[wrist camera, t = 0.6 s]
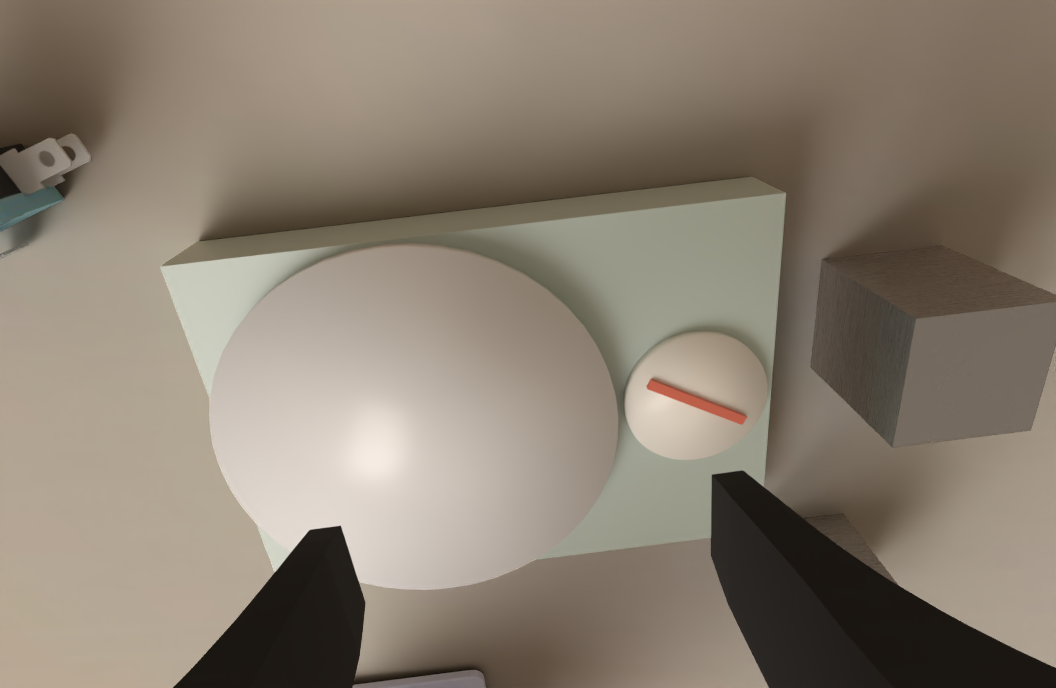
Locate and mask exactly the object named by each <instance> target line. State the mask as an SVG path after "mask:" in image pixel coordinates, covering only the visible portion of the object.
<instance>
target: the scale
mask: <svg viewBox="0 0 1056 688" xmlns="http://www.w3.org/2000/svg"><path fill="white" fill-rule="evenodd" d="M785 203H786V193H785V192H783V191H781V190H779V189H777V188H775V187H773V186H771V185H769V184H767V183H764V182H762V181H760V180H758V179H756V178H754V177H744V178H736V179H727V180H719V181H710V182H702V183H693V184H685V185H676V186H668V187H659V188H651V189H642V190H634V191H625V192H617V193H608V194H599V195H591V196H582V197H574V198H565V199H557V200H548V201H540V202H531V203H523V204H514V205H506V206H497V207H489V208H480V209H472V210H463V211H455V212H446V213H438V214H429V215H421V216H412V217H403V218H395V219H386V220H378V221H369V222H361V223H352V224H344V225H335V226H327V227H318V228H310V229H301V230H293V231H284V232H276V233H267V234H259V235H250V236H242V237H233V238H225V239H216V240H208V241H199V242H196V243H194V244H193V245H191V246H190V247H188V248H187V249H186V250H184V251H183V252H181V253H180V254H178V255H177V256H175V257H174V258H172V259H171V260H169V261H168V262H166V263H165V264H163V265H162V266H160V268H161V271H162V273H163V276H164V279H165V281H166V284H167V287H168V289H169V292H170V295H171V297H172V300H173V303H174V305H175V308H176V311H177V313H178V316H179V319H180V321H181V324H182V327H183V329H184V332H185V335H186V337H187V340H188V343H189V345H190V348H191V351H192V353H193V356H194V359H195V361H196V364H197V367H198V369H199V372H200V375H201V377H202V380H203V383H204V385H205V388H206V391H207V393H208V396H209V399H210V408H209V424H210V431H211V438H212V445H213V448H214V451H215V455H216V458H217V461H218V464H219V467H220V469H221V472H222V474H223V476H224V478H225V480H226V482H227V484H228V486H229V488H230V490H231V491H232V493H233V494H234V496H235V497H236V499H237V500H238V502H239V503H240V505H241V506H242V508H243V509H244V510H245V511H246V512H247V513H248V515H249V516H250V517H251V518H252V519H253V520H254V522H255V523H256V524H257V527H258V530H259V532H260V535H261V538H262V540H263V543H264V546H265V548H266V551H267V554H268V556H269V559H270V562H271V564H272V567H273V570H274V572H276V571H277V569H278V568H279V567H280V566H281V564H282V563H283V562H284V560H285V559H286V558H287V557H288V556H289V554H290V553H291V552H292V551H293V549H294V548H295V547H296V546H297V544H298V543H299V542H300V541H301V540H302V538H303V537H304V536H305V535H306V533H307V532H308V531H309V530H312V529H320V528H327V527H334V526H341V528H342V531H343V534H344V537H345V540H346V543H347V546H348V550H349V553H350V556H351V559H352V562H353V565H354V569H355V572H356V575H357V578H358V581H359V582H361V583H366V584H370V585H375V586H380V587H387V588H396V589H407V590H433V589H446V588H454V587H460V586H466V585H471V584H476V583H479V582H483V581H486V580H490V579H494V578H497V577H499V576H502V575H504V574H507V573H509V572H512V571H514V570H517V569H519V568H521V567H523V566H524V565H526V564H528V563H530V562H532V561H534V560H539V559H547V558H555V557H563V556H571V555H579V554H587V553H595V552H603V551H611V550H619V549H627V548H635V547H643V546H651V545H659V544H666V543H674V542H682V541H690V540H698V539H706V538H711V494H712V474H720V473H727V472H734V471H741V470H743V471H745V472H746V473H747V474H748V475H750V476H751V477H752V478H753V479H755V480H756V481H757V482H758V483H760V484H761V485H762V486H763V487H764V479H765V466H766V453H767V439H768V426H769V413H770V400H771V387H772V374H773V361H774V347H775V334H776V321H777V308H778V295H779V282H780V268H781V255H782V242H783V229H784V216H785Z"/></svg>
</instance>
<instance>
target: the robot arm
mask: <svg viewBox="0 0 1056 688" xmlns="http://www.w3.org/2000/svg"><path fill="white" fill-rule="evenodd" d="M711 557H712V560H713V562H714V565H715V568H716V571H717V574H718V577H719V580H720V583H721V586H722V588H723V591H724V594H725V597H726V599H727V602H728V605H729V607H730V609H731V611H732V613H733V615H734V617H735V619H736V621H737V623H738V626H739V628H740V630H741V632H742V634H743V636H744V638H745V640H746V642H747V644H748V646H749V648H750V650H751V652H752V654H753V656H754V658H755V660H756V662H757V664H758V666H759V668H760V670H761V672H762V674H763V676H764V678H765V680H766V682H767V684H768V686H769V688H1056V668H1055V667H1052V666H1050V665H1048V664H1046V663H1043V662H1041V661H1039V660H1037V659H1035V658H1033V657H1031V656H1028V655H1026V654H1024V653H1022V652H1020V651H1018V650H1016V649H1014V648H1012V647H1010V646H1008V645H1006V644H1004V643H1002V642H1000V641H998V640H996V639H994V638H992V637H990V636H988V635H986V634H984V633H982V632H980V631H978V630H976V629H974V628H972V627H970V626H968V625H966V624H964V623H963V622H961V621H959V620H957V619H955V618H953V617H952V616H950V615H948V614H946V613H944V612H942V611H941V610H939V609H937V608H936V607H934V606H932V605H930V604H929V603H927V602H925V601H924V600H922V599H920V598H919V597H917V596H915V595H913V594H912V593H910V592H908V591H907V590H905V589H903V588H902V587H900V586H898V585H897V584H895V583H894V582H892V581H890V580H889V579H887V578H886V577H884V576H883V575H881V574H880V573H878V572H877V571H875V570H874V569H872V568H871V567H869V566H868V565H866V564H865V563H863V562H862V561H860V560H859V559H857V558H856V557H854V556H853V555H851V554H850V553H849V552H847V551H846V550H844V549H843V548H842V547H840V546H839V545H837V544H836V543H835V542H833V541H832V540H831V539H829V538H828V537H827V536H825V535H824V534H823V533H821V532H820V531H819V530H817V529H816V528H815V527H813V526H812V525H811V524H809V523H808V522H807V521H806V520H804V519H803V518H802V517H800V516H799V515H798V514H797V513H795V512H794V511H793V510H792V509H790V508H789V507H788V506H787V505H785V504H784V503H783V502H782V501H780V500H779V499H778V498H777V497H775V496H774V495H773V494H772V493H771V492H769V491H768V490H767V489H766V488H764V487H763V486H762V485H761V484H760V483H758V482H757V481H756V480H755V479H753V478H752V477H751V476H750V475H748V474H747V473H746V472H745V471H743V470H741V471H734V472H727V473H720V474H712V494H711ZM364 611H365V600H364V597H363V594H362V591H361V587H360V584H359V581H358V578H357V575H356V572H355V569H354V565H353V562H352V559H351V556H350V553H349V550H348V546H347V543H346V540H345V537H344V534H343V531H342V528H341V526H334V527H327V528H320V529H312V530H309V531H308V532H307V533H306V535H305V536H304V537H303V538H302V540H301V541H300V542H299V543H298V544H297V546H296V547H295V548H294V549H293V551H292V552H291V553H290V554H289V556H288V557H287V558H286V559H285V560H284V562H283V563H282V564H281V566H280V567H279V568H278V569H277V571H276V572H275V573H274V574H273V575H272V577H271V578H270V579H269V580H268V582H267V583H266V584H265V585H264V587H263V588H262V589H261V590H260V592H259V593H258V594H257V595H256V596H255V598H254V599H253V600H252V601H251V602H250V604H249V605H248V606H247V607H246V608H245V610H244V611H243V612H242V613H241V614H240V616H239V617H238V618H237V619H236V620H235V621H234V623H233V624H232V625H231V626H230V627H229V628H228V629H227V630H226V631H225V633H224V634H223V635H222V636H221V637H220V638H219V639H218V640H217V641H216V643H215V644H214V645H213V646H212V647H211V648H210V649H209V650H208V651H207V653H206V654H205V655H204V656H203V657H202V658H201V659H200V660H199V661H198V663H197V664H196V665H195V666H194V667H193V668H192V669H191V670H190V671H189V672H188V673H187V674H186V675H185V676H184V677H183V678H182V679H181V680H180V681H179V682H178V683H177V684H176V685H175V686H174V687H173V688H486V684H485V679H484V676H483V674H482V673H481V672H480V671H477V670H466V671H458V672H450V673H442V674H434V675H427V676H419V677H411V678H403V679H395V680H387V681H380V682H372V683H364V684H356V685H353V683H354V678H355V674H356V670H357V665H358V661H359V656H360V648H361V640H362V632H363V622H364Z"/></svg>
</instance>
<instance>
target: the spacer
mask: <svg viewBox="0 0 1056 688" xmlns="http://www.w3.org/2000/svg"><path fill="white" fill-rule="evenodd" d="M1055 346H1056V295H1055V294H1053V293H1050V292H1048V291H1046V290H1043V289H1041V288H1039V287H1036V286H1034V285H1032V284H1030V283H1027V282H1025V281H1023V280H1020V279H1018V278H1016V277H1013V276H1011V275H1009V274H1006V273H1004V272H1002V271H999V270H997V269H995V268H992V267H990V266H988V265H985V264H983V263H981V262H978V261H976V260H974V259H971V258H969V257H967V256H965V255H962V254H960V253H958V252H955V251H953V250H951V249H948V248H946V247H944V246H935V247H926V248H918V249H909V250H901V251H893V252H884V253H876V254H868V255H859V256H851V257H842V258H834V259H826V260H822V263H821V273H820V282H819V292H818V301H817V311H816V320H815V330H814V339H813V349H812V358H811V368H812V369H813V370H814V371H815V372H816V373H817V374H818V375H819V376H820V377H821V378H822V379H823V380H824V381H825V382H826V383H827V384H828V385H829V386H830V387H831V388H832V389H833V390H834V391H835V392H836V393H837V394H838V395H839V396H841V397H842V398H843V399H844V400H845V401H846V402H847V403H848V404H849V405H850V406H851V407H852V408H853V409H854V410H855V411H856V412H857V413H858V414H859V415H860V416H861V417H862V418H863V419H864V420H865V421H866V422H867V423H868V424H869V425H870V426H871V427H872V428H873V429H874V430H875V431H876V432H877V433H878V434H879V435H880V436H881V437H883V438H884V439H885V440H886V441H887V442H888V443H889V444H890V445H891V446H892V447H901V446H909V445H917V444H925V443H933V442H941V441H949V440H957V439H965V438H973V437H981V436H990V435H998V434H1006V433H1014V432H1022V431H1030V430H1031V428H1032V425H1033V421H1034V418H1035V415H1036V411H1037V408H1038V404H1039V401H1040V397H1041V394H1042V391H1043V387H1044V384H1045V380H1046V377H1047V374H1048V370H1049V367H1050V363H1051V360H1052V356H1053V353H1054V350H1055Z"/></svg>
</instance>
